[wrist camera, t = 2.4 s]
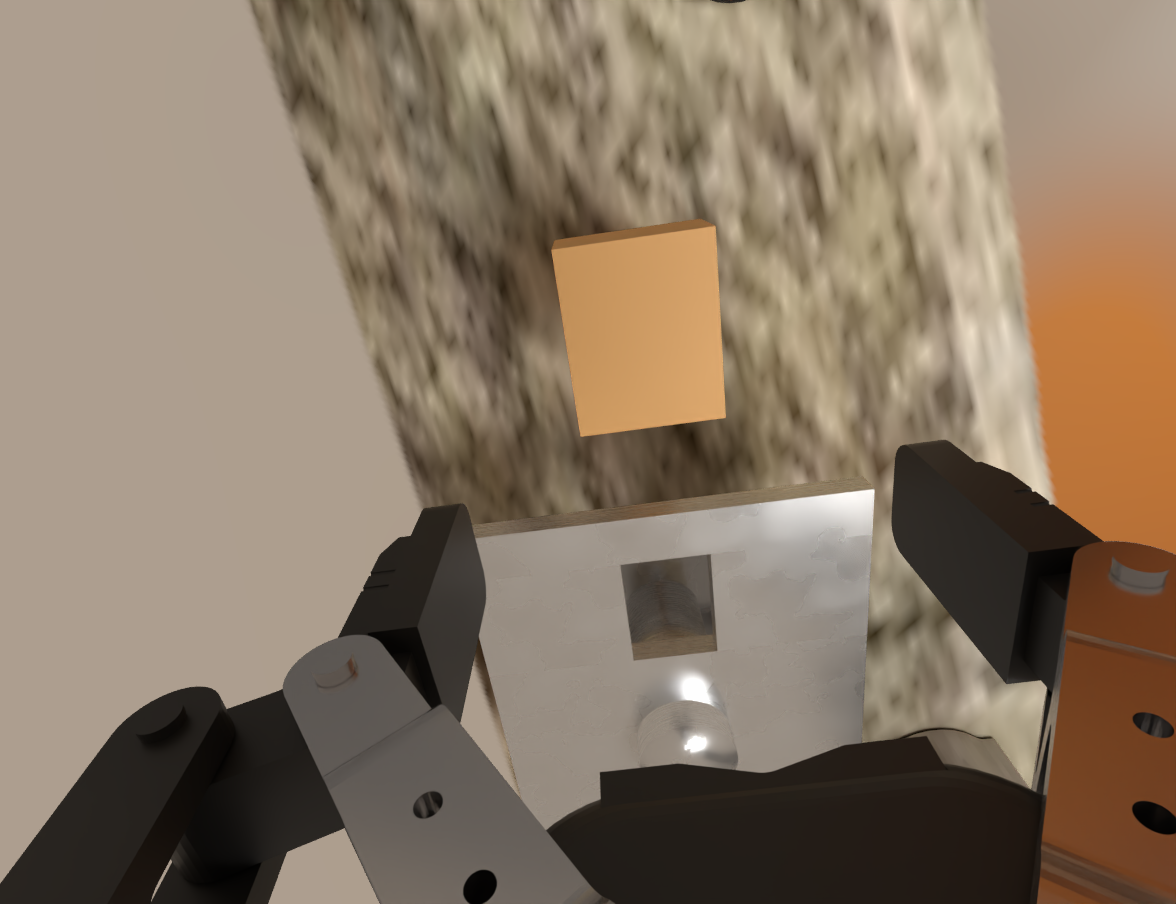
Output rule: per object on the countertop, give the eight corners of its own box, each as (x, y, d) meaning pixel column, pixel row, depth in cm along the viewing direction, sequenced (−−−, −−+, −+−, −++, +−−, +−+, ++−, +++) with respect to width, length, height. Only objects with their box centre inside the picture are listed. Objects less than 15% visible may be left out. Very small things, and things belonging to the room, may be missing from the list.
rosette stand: (795, 400, 37) (891, 507, 25) (797, 666, 45) (869, 838, 34) (487, 440, 38) (446, 562, 26) (543, 694, 46) (531, 871, 35)
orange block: (670, 204, 33) (715, 225, 22) (681, 338, 35) (725, 417, 25) (561, 220, 33) (551, 249, 22) (581, 352, 36) (580, 436, 25)
